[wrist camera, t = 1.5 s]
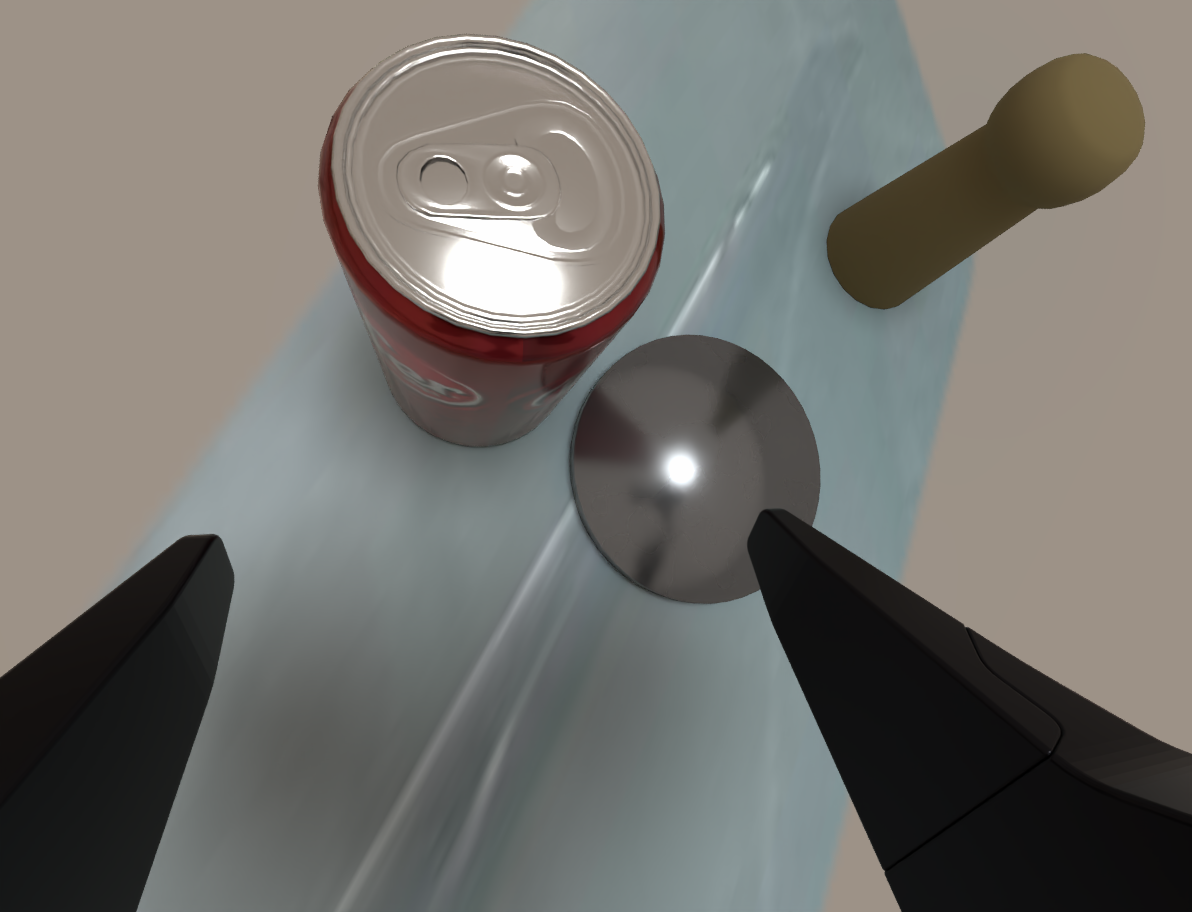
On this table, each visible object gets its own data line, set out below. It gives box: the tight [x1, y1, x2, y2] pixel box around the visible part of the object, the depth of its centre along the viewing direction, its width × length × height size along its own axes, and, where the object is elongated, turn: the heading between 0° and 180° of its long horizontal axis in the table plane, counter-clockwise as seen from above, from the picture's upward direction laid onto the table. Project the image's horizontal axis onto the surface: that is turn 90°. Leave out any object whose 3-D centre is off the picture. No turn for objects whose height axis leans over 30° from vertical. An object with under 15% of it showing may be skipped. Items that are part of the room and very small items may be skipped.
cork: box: [827, 53, 1145, 309], centre depth 24 cm, size 6×6×11 cm
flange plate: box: [570, 335, 820, 604], centre depth 24 cm, size 12×12×1 cm
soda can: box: [318, 34, 665, 447], centre depth 16 cm, size 7×7×12 cm
